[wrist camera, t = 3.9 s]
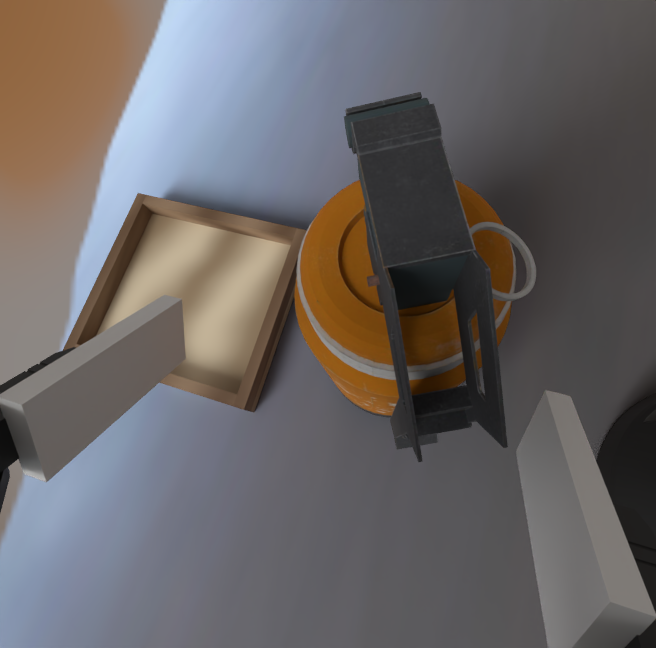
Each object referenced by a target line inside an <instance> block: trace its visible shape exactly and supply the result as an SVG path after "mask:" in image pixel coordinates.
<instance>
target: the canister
mask: <svg viewBox="0 0 656 648" xmlns="http://www.w3.org/2000/svg"><path fill="white" fill-rule="evenodd" d="M421 97H422V95H421V92H418V93H414V94H409V95H405V96H400V97H396V98H392V99H387V100H383V101H379V102H374V103H370V104H365V105H361V106H357V107H352V108H348V109H346V116H344V121H345V129H346V135H347V140H348V145H349V148H352V151H353V154H355V153H357V157H358V170H359V179H360V180H358V181H356V182H354V183H352V184H351V185H349V186H347V187H346V188H344V189H342V190H341V191H340V192H339V193H337V194H336V195H335V196H334V197H332V198H331V199H330V200H329V201H328V202H327V203H326V205H325V206H324V207H323V208H322V209H321V210H320V211H319V213H318V214H317V215H316V217H315V218H314V220H313V221H312V223H311V224H310V226H309V227H308V229H307V231H306V234H305V236H304V238H303V240H302V243H301V247H300V250H299V254H298V261H297V277H296V283H295V293H294V297H295V311H296V315H297V319H298V324H299V327H300V329H301V332H302V334H303V336H304V339H305V341H306V342H307V344H308V345H309V347H310V349H311V350H312V352H313V353H314V355H315V356H316V358H317V359H318V360H319V362H320V363H321V365H322V366H323V367H324V369H325V370H326V372H327V373H328V374H329V376H330V377H331V379H332V380H333V381H334V383H335V384H336V386H337V387H338V388H339V390H340V391H341V392H342V393H343V395H344V396H345V397H346V398H347V399H348V400H349V401H350V402H352V403H353V404H354V405H355V406H357V407H359V408H360V409H362V410H364V411H366V412H369V413H371V414H374V415H378V416H382V417H391V418H390V421H391V426H392V430H393V434H394V439H395V443H396V447H397V449H402V448H408V447H413V449H414V452H415V454H416V457H417V459H418V461H419V462H421V461H422V455H421V449H420V445H425V444H431V443H437V442H438V433H441V432H447V431H453V430H459V429H464V428H469V427H471V426H472V423H471V422H475V421H477V422H478V423H479V424H480V425H481V426H482V427H483V428H484V429H485V430H486V431H487V432H488V433H489V434H490V435H491V436H492V437H493V438H494V439H495V440H496V441H497V442H498V443H499V444H500V445H501V446H502V447H503V448H506V447H508V446H507V436H506V426H505V416H504V406H503V396H502V386H501V376H500V366H499V356H498V346H499V344H500V342H501V340H502V338H503V336H504V334H505V331H506V328H507V325H508V322H509V318H510V313H511V304H512V301H514V300H517V299H519V298H521V297H524V296H525V295H527V294H528V293H529V292H530V291H531V290H532V288H533V286H534V284H535V280H536V266H535V262H534V259H533V257H532V254H531V252H530V250H529V249H528V247H527V246H526V244H525V243H524V242H523V240H522V239H521V238H520V237H519V236H518V235H517V234H516V233H514V232H513V231H512V230H510V229H508V228H507V227H505V226H504V225H503V223H502V222H501V220H500V218H499V217H498V215H497V214H496V212H495V211H494V209H493V208H492V207H491V206H490V205H489V204H488V203H487V202H486V201H485V200H484V199H483V198H482V197H481V196H480V195H478V194H477V193H476V192H475V191H474V190H472V189H471V188H469V187H467V186H466V185H464V184H462V183H461V182H459V181H457V180H454V176H453V173H452V170H451V166H450V163H449V160H448V157H447V153H446V150H445V147H444V143H443V140H442V137H441V126H440V123H439V119H438V116H437V113H436V110H435V106H434V104H429V101H428V99H427V98H423V99H421ZM511 242H512V243H513V244H514V245H515V246H516V247H517V249H518V250H519V252H520V253H521V255H522V257H523V259H524V261H525V265H526V270H527V278H526V283H525V285H524V287H523V288H522V290H521V291H520V292H518V293H514V290H515V282H516V261H515V255H514V251H513V247H512V243H511ZM481 367H482V369H483V379H484V389H485V395H484V394H483V393H482V390H481V385H480V379H479V372H478V369H479V368H481ZM465 380H466V383H467V385H466V386H460V387H457V386H458V385H460V384H461V383H462V382H464V381H465Z"/></svg>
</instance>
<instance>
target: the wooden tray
mask: <svg viewBox="0 0 656 648" xmlns="http://www.w3.org/2000/svg"><path fill="white" fill-rule="evenodd" d="M306 231H307V230H303V229H299V228H294V227H289V226H285V225H280V224H276V223H271V222H267V221H262V220H258V219H253V218H248V217H244V216H239V215H235V214H230V213H226V212H221V211H217V210H212V209H208V208H203V207H198V206H194V205H189V204H185V203H180V202H176V201H171V200H167V199H162V198H157V197H153V196H148V195H144V194H139V193H138V194H137V196H136V198H135V200H134V203H133V205H132V207H131V209H130V211H129V213H128V215H127V217H126V219H125V221H124V223H123V226H122V228H121V230H120V232H119V234H118V236H117V238H116V240H115V242H114V244H113V246H112V249H111V251H110V253H109V255H108V257H107V259H106V261H105V263H104V265H103V267H102V269H101V272H100V274H99V276H98V278H97V280H96V282H95V284H94V286H93V288H92V290H91V292H90V294H89V297H88V299H87V301H86V303H85V305H84V307H83V309H82V311H81V313H80V315H79V317H78V320H77V322H76V324H75V326H74V328H73V330H72V332H71V334H70V336H69V338H68V340H67V343H66V345H65V347H64V349H63V350H66V349H69V348H72V347H76V348H77V347H79V346H80V345H82V344H84V343H85V342H87V341H89V340H90V339H92V338H94V337H95V336H97V335H99V334H100V333H102V332H104V331H105V330H107V329H109V328H110V327H112V326H114V325H115V324H117V323H118V322H120V321H122V320H123V319H125V318H127V317H128V316H130V315H132V314H133V313H135V312H137V311H138V310H140V309H142V308H143V307H145V306H147V305H148V304H150V303H151V302H153V301H155V300H156V299H158V298H160V297H161V296H163V295H168V296H172V297H176V298H180V299H182V307H183V323H184V338H185V354H186V359H185V360H184V361H183V362H182V363H181V364H179V365H178V366H177V367H176V368H175V369H174V370H173V371H172V372H170V373H169V374H168V375H167V376H166V377H165V378H164V379H163V380H161V381H160V383H163V384H166V385H169V386H172V387H175V388H178V389H181V390H184V391H188V392H191V393H194V394H197V395H200V396H203V397H206V398H209V399H212V400H216V401H219V402H222V403H225V404H228V405H231V406H234V407H237V408H240V409H244V410H247V411H251V412H254V411H255V408H256V405H257V402H258V400H259V397H260V394H261V391H262V388H263V385H264V382H265V379H266V376H267V374H268V371H269V368H270V365H271V362H272V359H273V356H274V353H275V350H276V348H277V345H278V342H279V339H280V336H281V333H282V330H283V327H284V324H285V321H286V319H287V316H288V313H289V310H290V307H291V304H292V301H293V298H294V293H295V283H296V277H297V261H298V254H299V250H300V247H301V243H302V240H303V238H304V236H305V234H306Z"/></svg>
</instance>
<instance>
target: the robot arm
mask: <svg viewBox="0 0 656 648" xmlns="http://www.w3.org/2000/svg"><path fill="white" fill-rule="evenodd" d="M185 359H186V354H185V338H184V323H183V307H182V299H180V298H176V297H172V296H168V295H163V296H161V297H160V298H158V299H156V300H155V301H153V302H151V303H150V304H148V305H147V306H145V307H143V308H142V309H140V310H138V311H137V312H135V313H133V314H132V315H130V316H128V317H127V318H125V319H123V320H122V321H120V322H118V323H117V324H115V325H114V326H112V327H110V328H109V329H107V330H105V331H104V332H102V333H100V334H99V335H97V336H95V337H94V338H92V339H90V340H89V341H87V342H85V343H84V344H82V345H80V346H79V347H77V348H76V347H72V348H69V349H66V350H63V351H61V352H58V353H55V354H53V355H52V356H50V357H48V358H46V359H45V360H43V361H42V362H40V364H36V365H35V366H33V367H31V368H29V369H28V371H27V372H25V371H24V372H23V373H21V374H19V375H17V376H16V377H14V378H12V379H11V380H9V381H7V382H6V383H4V384H2V385H0V512H1V508H2V504H3V501H4V497H5V493H6V489H7V485H8V482H9V477H10V474H9V469H8V466H10V465H11V464H12V463H14V462H15V461H16V460H17V459H19V461H20V464H21V467H22V470H23V473H24V474H26V475H28V476H31V477H34V478H36V479H39V480H42V481H44V482H47V481H49V480H50V479H51V478H52V477H53V476H54V475H55V474H56V473H58V472H59V471H60V470H61V469H62V468H63V467H64V466H65V465H67V464H68V463H69V462H70V461H71V460H72V459H73V458H75V457H76V456H77V455H78V454H79V453H80V452H81V451H82V450H84V449H85V448H86V447H87V446H88V445H89V444H90V443H91V442H93V441H94V440H95V439H96V438H97V437H98V436H99V435H100V434H102V433H103V432H104V431H105V430H106V429H107V428H108V427H109V426H111V425H112V424H113V423H114V422H115V421H116V420H117V419H119V418H120V417H121V416H122V415H123V414H124V413H125V412H126V411H128V410H129V409H130V408H131V407H132V406H133V405H134V404H135V403H137V402H138V401H139V400H140V399H141V398H142V397H143V396H144V395H146V394H147V393H148V392H149V391H150V390H151V389H152V388H153V387H155V386H156V385H157V384H158V383H159V382H160V381H161V380H163V379H164V378H165V377H166V376H167V375H168V374H169V373H170V372H172V371H173V370H174V369H175V368H176V367H177V366H178V365H179V364H181V363H182V362H183V361H184V360H185ZM516 455H517V461H518V467H519V474H520V480H521V486H522V492H523V498H524V504H525V510H526V516H527V522H528V528H529V534H530V540H531V546H532V552H533V559H534V565H535V571H536V577H537V583H538V589H539V595H540V601H541V607H542V613H543V619H544V625H545V631H546V637H547V644H548V648H656V394H653V395H651V396H649V397H647V398H645V399H643V400H642V401H640V402H638V403H637V404H635V405H634V406H632V407H631V408H630V409H629V410H628V411H626V412H625V413H624V414H623V415H622V416H621V417H620V418H619V419H618V421H617V422H616V423H615V424H614V426H613V427H612V428H611V430H610V431H609V433H608V435H607V436H606V438H605V440H604V442H603V445H602V447H601V450H600V452H599V455H598V459H597V462H596V460H595V457H594V455H593V452H592V450H591V447H590V444H589V442H588V439H587V437H586V434H585V432H584V429H583V427H582V424H581V422H580V419H579V416H578V414H577V411H576V409H575V406H574V404H573V401H572V399H571V396H568V395H564V394H560V393H556V392H552V391H548V390H545V391H544V393H543V395H542V397H541V399H540V401H539V404H538V406H537V408H536V410H535V412H534V414H533V416H532V418H531V421H530V423H529V425H528V427H527V429H526V431H525V433H524V435H523V438H522V440H521V442H520V444H519V446H518V448H517V450H516Z"/></svg>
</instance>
